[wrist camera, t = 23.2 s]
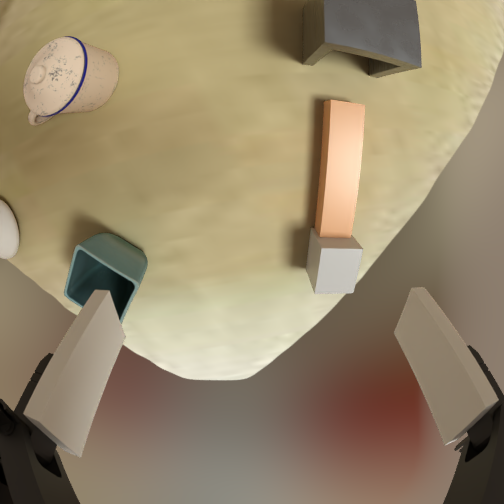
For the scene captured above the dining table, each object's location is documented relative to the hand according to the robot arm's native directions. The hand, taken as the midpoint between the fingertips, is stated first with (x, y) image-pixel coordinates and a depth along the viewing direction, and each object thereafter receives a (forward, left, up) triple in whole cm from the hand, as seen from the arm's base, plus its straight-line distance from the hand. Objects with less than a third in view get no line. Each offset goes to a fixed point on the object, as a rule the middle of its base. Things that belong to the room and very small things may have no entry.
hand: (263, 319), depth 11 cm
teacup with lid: (-14, -22, -24) cm, 36 cm away
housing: (-19, +10, -24) cm, 32 cm away
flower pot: (+10, -18, -24) cm, 32 cm away
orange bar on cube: (0, +10, -24) cm, 26 cm away
